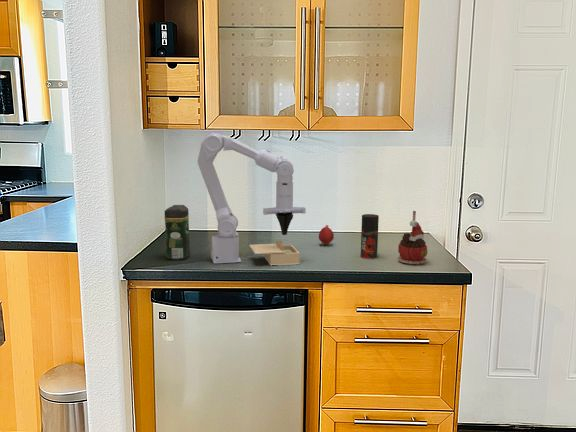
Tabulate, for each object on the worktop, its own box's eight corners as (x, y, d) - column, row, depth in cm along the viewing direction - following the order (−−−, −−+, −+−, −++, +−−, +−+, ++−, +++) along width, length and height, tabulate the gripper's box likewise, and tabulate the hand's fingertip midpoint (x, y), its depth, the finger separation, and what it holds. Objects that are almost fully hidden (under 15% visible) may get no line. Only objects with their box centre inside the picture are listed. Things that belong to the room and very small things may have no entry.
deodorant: (379, 255, 200) (381, 215, 197) (373, 259, 195) (375, 217, 192) (364, 253, 203) (365, 213, 200) (357, 257, 198) (359, 216, 195)
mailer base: (270, 265, 186) (270, 254, 185) (264, 256, 197) (264, 246, 196) (299, 264, 188) (299, 252, 187) (291, 255, 199) (291, 244, 199)
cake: (409, 256, 199) (411, 207, 195) (432, 262, 192) (434, 211, 189) (391, 262, 192) (393, 211, 188) (414, 267, 185) (417, 214, 182)
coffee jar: (170, 253, 201) (168, 203, 198) (191, 253, 201) (190, 203, 197) (163, 260, 192) (161, 207, 188) (186, 260, 191) (184, 208, 188)
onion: (321, 247, 212) (321, 226, 211) (316, 243, 218) (316, 223, 216) (335, 246, 214) (336, 226, 212) (330, 243, 219) (330, 223, 218)
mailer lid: (255, 254, 184) (255, 247, 183) (249, 245, 195) (249, 239, 195) (285, 252, 186) (285, 245, 185) (277, 244, 198) (277, 237, 197)
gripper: (265, 197, 183) (265, 237, 186) (308, 196, 186) (307, 235, 189) (262, 194, 190) (262, 233, 192) (302, 193, 193) (302, 231, 196)
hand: (284, 234), depth 191 cm, fingers closed
